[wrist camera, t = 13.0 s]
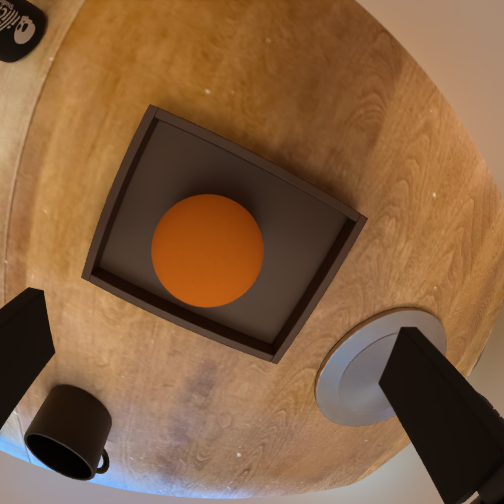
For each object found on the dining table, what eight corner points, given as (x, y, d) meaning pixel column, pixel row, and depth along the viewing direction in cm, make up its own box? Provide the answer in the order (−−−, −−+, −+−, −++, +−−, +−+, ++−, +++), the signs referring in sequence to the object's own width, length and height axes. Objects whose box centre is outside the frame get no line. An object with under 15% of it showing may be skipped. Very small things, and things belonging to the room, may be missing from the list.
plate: (462, 308, 31) (466, 311, 30) (411, 414, 36) (414, 418, 35) (337, 303, 29) (340, 307, 28) (298, 426, 34) (300, 431, 33)
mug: (95, 447, 34) (80, 492, 25) (39, 392, 30) (12, 436, 22) (138, 437, 33) (126, 489, 24) (77, 376, 30) (48, 427, 21)
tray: (356, 213, 26) (368, 218, 24) (273, 349, 30) (277, 364, 27) (157, 109, 23) (149, 104, 20) (92, 267, 26) (80, 277, 24)
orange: (272, 201, 25) (269, 202, 17) (258, 295, 26) (250, 335, 18) (178, 189, 25) (137, 187, 17) (169, 280, 27) (130, 311, 19)
